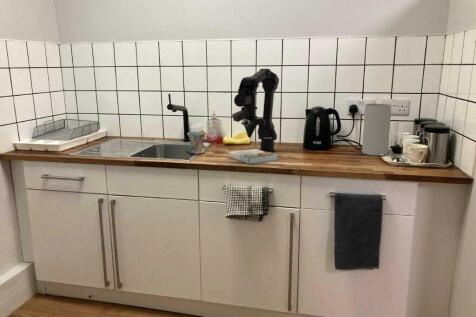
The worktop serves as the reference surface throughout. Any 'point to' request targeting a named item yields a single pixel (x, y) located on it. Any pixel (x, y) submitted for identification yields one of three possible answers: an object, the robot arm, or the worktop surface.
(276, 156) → the tray
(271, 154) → the terracotta tile
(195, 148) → the mug
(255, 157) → the sage tile
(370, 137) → the cylinder vase
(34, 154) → the worktop surface
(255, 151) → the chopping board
